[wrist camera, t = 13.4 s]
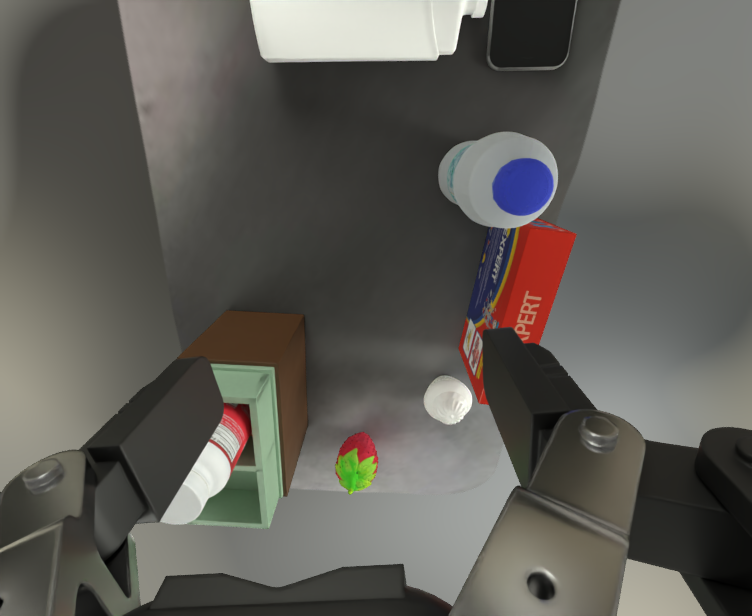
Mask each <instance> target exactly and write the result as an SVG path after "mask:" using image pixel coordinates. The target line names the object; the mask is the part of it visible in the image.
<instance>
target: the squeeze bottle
mask: <svg viewBox="0 0 752 616" xmlns="http://www.w3.org/2000/svg"><path fill="white" fill-rule="evenodd" d="M487 2H488V0H250V4H251V11H252V17H253V22H254V28H255V33H256V37H257V42H258V46H259V50H260V54H261V56H262V57H263V58H264V59H265V60H266V61H268V62H332V61H428V60H430V61H436V60H437V58H438V56H439V55H452V54H453V53H454V51H455V50H456V46H457V41H458V35H459V30H460V25H461V20H462V16H463V15H471V17H472V18H482V17H483V16H484V14H485V11H486V7H487Z"/></svg>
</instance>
